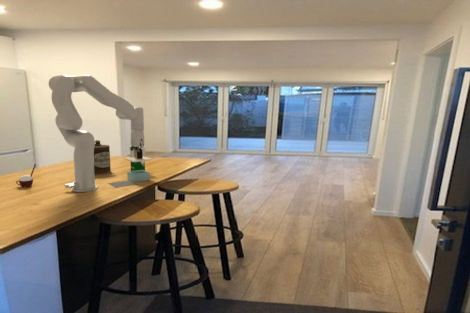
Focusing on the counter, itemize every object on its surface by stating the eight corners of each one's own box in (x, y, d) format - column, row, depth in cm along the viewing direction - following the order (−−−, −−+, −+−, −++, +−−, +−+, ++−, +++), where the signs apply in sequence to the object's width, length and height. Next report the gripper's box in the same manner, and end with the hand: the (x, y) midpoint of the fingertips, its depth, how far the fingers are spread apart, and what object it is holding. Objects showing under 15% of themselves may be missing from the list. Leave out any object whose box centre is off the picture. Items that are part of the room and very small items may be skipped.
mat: (115, 188, 164) (115, 187, 164) (107, 183, 174) (107, 183, 174) (138, 185, 173) (138, 184, 173) (129, 180, 182) (129, 180, 182)
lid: (133, 162, 176) (132, 151, 175) (125, 159, 185) (124, 149, 184) (152, 160, 184) (151, 150, 183) (143, 157, 192) (143, 147, 191)
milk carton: (128, 173, 205) (127, 144, 202) (140, 171, 211) (140, 143, 208) (135, 175, 199) (134, 145, 196) (147, 173, 205) (146, 144, 202)
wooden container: (96, 175, 195) (94, 141, 192) (82, 172, 202) (80, 140, 199) (115, 171, 208) (114, 140, 205) (101, 169, 215) (100, 138, 212)
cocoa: (15, 188, 161) (11, 166, 159) (22, 184, 167) (19, 164, 165) (33, 187, 162) (30, 166, 159) (40, 184, 168) (37, 163, 165)
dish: (134, 182, 179) (133, 174, 178) (127, 179, 186) (127, 171, 185) (149, 180, 185) (149, 172, 185) (142, 177, 193) (142, 169, 192)
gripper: (125, 127, 185) (127, 156, 187) (137, 128, 172) (138, 160, 175) (137, 126, 189) (138, 155, 192) (149, 128, 177) (150, 158, 180)
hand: (138, 157), depth 184 cm, fingers closed on lid, 3 cm apart
